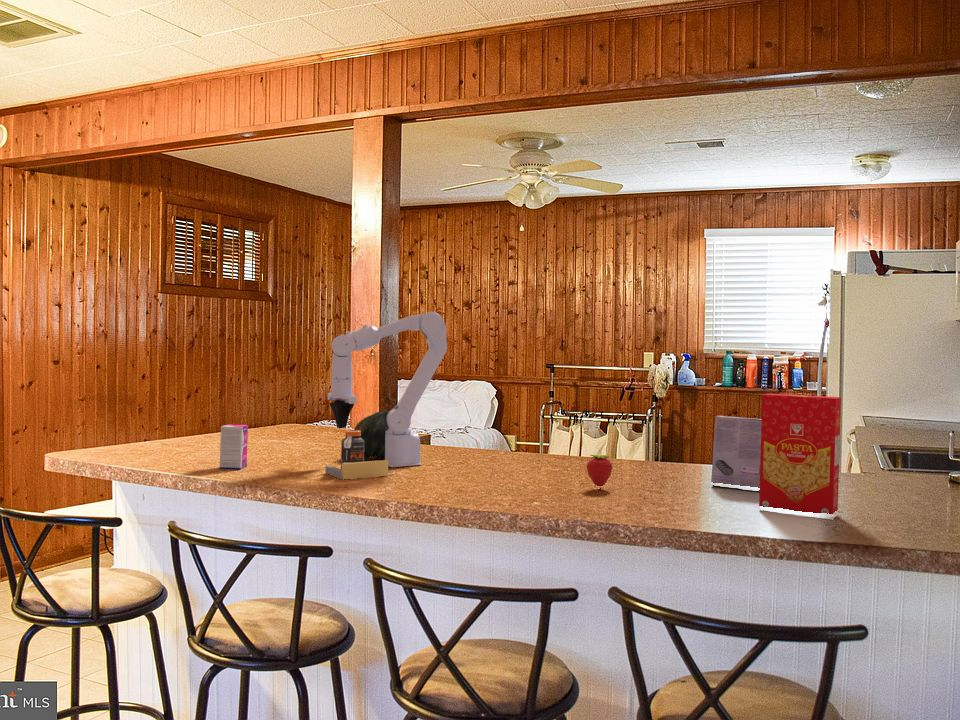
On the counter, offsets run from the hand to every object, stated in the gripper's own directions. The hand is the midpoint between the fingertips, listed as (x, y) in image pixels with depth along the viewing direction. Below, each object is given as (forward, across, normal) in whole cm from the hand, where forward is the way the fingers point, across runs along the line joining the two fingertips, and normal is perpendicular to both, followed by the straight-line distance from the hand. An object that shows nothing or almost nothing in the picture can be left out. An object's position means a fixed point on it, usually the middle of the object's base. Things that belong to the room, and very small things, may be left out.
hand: (341, 427), depth 223 cm
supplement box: (+11, -9, -27) cm, 30 cm away
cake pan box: (+11, +81, +71) cm, 109 cm away
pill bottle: (+11, +14, -3) cm, 18 cm away
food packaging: (+11, +103, +57) cm, 119 cm away
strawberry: (+11, +62, +39) cm, 74 cm away
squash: (+11, -7, +15) cm, 20 cm away
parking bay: (+10, +16, -3) cm, 19 cm away
